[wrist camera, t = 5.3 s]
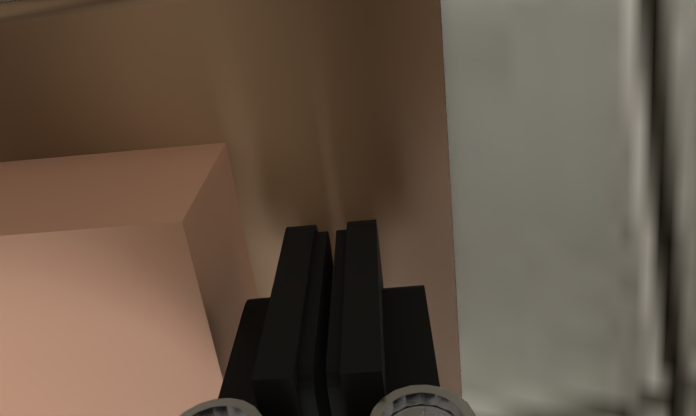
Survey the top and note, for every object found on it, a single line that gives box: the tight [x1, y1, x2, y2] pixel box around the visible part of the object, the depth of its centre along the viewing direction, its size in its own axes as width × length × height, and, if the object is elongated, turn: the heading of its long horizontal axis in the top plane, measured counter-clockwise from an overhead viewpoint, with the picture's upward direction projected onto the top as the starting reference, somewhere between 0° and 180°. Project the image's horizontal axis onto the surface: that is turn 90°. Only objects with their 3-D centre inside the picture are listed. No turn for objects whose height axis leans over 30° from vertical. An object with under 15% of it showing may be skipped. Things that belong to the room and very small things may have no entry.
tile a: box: [0, 142, 258, 416], centre depth 11 cm, size 6×6×3 cm
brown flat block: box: [0, 0, 462, 398], centre depth 14 cm, size 14×11×4 cm
